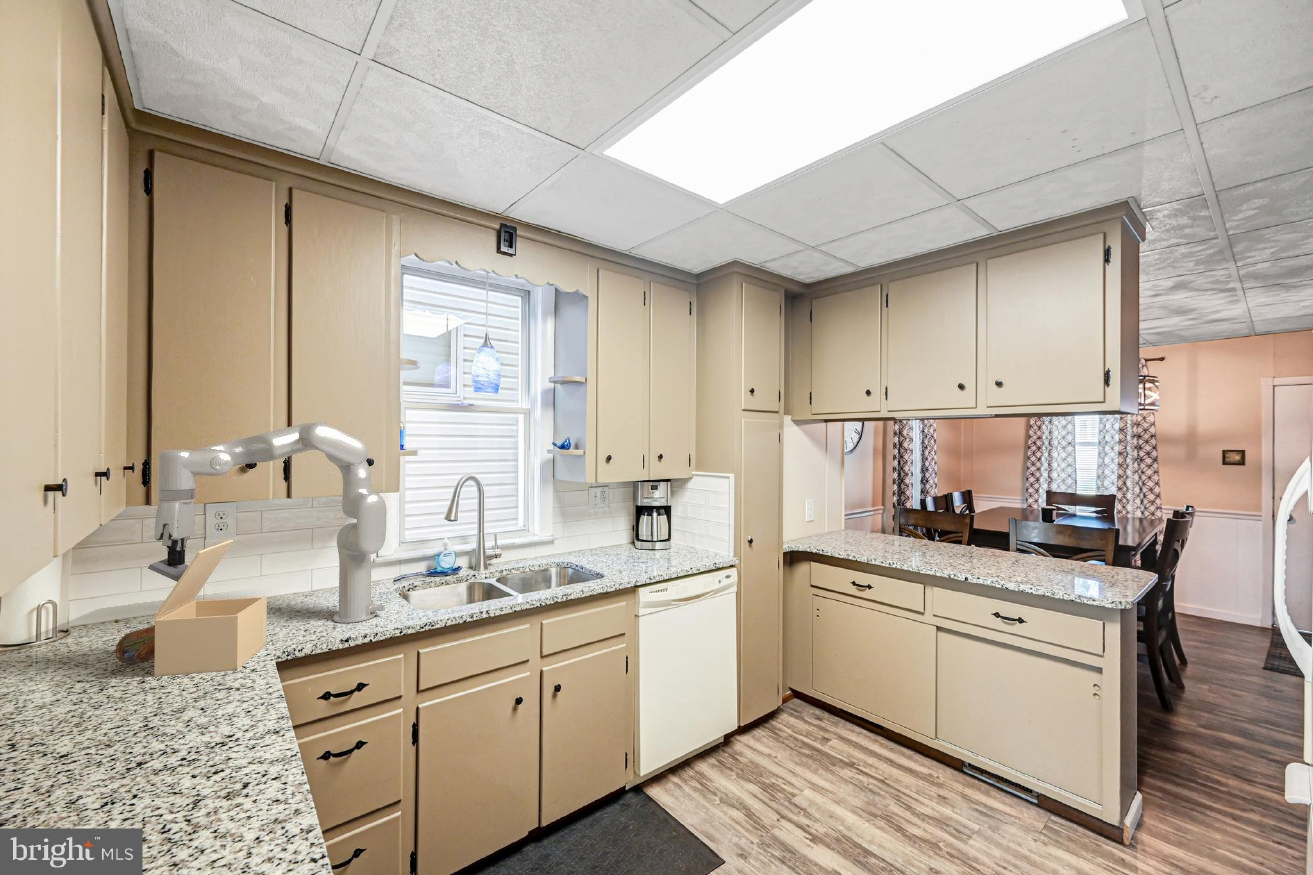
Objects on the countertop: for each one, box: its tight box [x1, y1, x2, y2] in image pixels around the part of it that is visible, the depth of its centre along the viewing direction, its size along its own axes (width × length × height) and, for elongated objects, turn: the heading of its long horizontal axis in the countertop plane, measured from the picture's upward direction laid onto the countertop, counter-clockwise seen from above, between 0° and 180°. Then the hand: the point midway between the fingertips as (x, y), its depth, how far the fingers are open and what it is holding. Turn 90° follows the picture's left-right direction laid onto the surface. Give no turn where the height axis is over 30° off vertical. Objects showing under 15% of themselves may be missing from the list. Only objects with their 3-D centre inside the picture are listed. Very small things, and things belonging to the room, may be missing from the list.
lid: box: [147, 539, 235, 621], centre depth 151 cm, size 19×18×10 cm
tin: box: [115, 624, 155, 665], centre depth 154 cm, size 15×3×8 cm, turn 168°
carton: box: [153, 596, 268, 677], centre depth 153 cm, size 18×18×14 cm
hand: (176, 564), depth 151 cm, fingers closed
